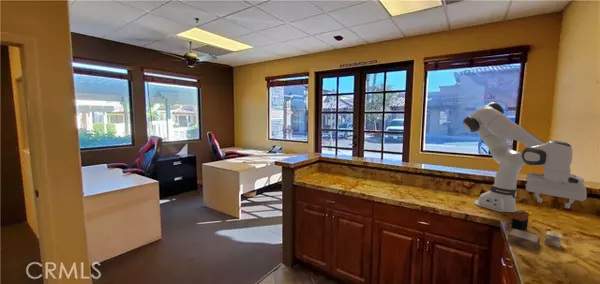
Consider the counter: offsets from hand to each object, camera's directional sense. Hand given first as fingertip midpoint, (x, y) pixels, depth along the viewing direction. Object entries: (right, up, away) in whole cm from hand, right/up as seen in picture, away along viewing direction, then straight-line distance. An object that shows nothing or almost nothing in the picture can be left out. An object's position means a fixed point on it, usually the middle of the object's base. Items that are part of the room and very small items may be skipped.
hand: (552, 204), depth 123 cm
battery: (-1, -17, +17) cm, 24 cm away
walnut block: (-13, -18, +1) cm, 22 cm away
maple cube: (+1, -19, +1) cm, 19 cm away
